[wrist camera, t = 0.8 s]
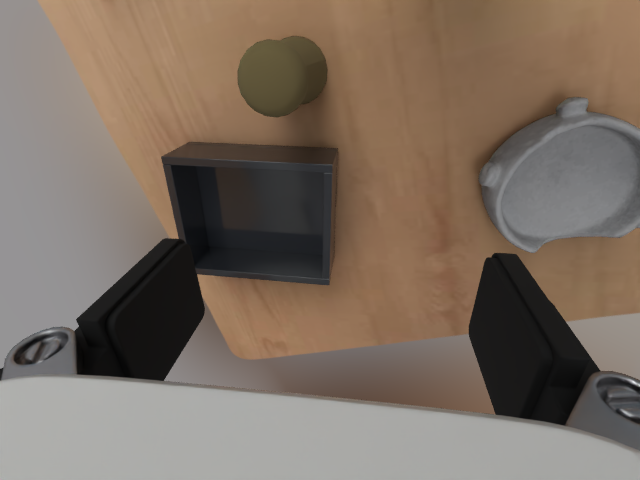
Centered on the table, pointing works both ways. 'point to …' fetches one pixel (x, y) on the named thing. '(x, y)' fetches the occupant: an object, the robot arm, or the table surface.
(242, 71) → the olive pawn
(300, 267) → the open box
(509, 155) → the dish
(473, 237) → the table surface
